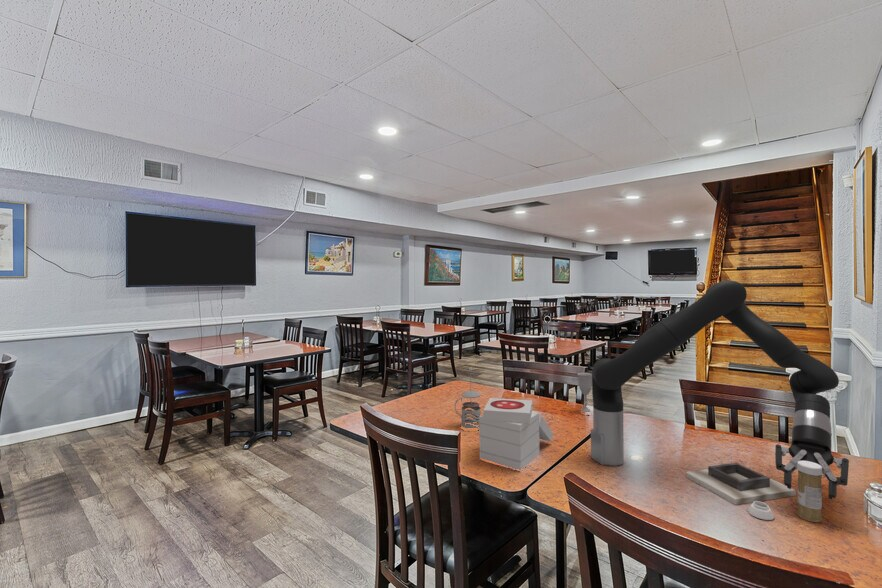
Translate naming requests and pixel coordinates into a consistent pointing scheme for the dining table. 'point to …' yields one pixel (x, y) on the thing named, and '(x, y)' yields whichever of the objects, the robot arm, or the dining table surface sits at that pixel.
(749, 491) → the condiment holder
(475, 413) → the french press
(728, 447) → the dining table surface
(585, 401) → the chalice
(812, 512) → the sprinkles bottle
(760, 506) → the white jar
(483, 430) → the stack of boxes
